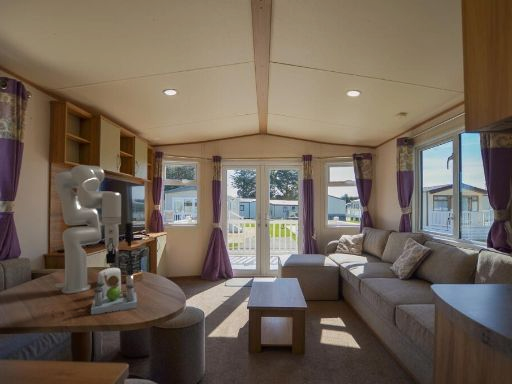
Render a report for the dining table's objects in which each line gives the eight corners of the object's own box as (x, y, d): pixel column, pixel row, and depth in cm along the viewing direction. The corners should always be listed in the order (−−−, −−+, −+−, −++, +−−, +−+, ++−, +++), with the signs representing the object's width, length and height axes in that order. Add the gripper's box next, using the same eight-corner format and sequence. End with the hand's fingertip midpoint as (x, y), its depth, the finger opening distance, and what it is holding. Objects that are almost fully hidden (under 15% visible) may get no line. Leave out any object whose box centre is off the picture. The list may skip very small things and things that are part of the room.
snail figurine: (107, 298, 132) (106, 270, 132) (122, 297, 133) (121, 269, 133) (102, 302, 127) (101, 273, 127) (117, 301, 127) (116, 272, 128)
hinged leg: (133, 298, 131) (133, 279, 131) (126, 299, 129) (126, 280, 130) (133, 292, 138) (133, 274, 138) (126, 293, 137) (126, 275, 137)
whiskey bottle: (115, 281, 167) (115, 223, 167) (129, 277, 176) (128, 221, 176) (130, 283, 163) (129, 223, 163) (143, 278, 172) (142, 222, 172)
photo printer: (100, 298, 140) (100, 271, 140) (96, 296, 143) (96, 269, 143) (122, 292, 148) (122, 266, 148) (118, 290, 151) (118, 265, 151)
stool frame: (91, 314, 120) (90, 291, 120) (94, 303, 133) (94, 282, 133) (137, 307, 127) (136, 286, 127) (136, 297, 140) (135, 277, 140)
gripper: (120, 222, 123) (120, 264, 124) (121, 218, 139) (121, 255, 140) (99, 223, 121) (99, 266, 121) (103, 219, 136) (102, 256, 137)
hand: (111, 260), depth 130 cm, fingers open, 9 cm apart
